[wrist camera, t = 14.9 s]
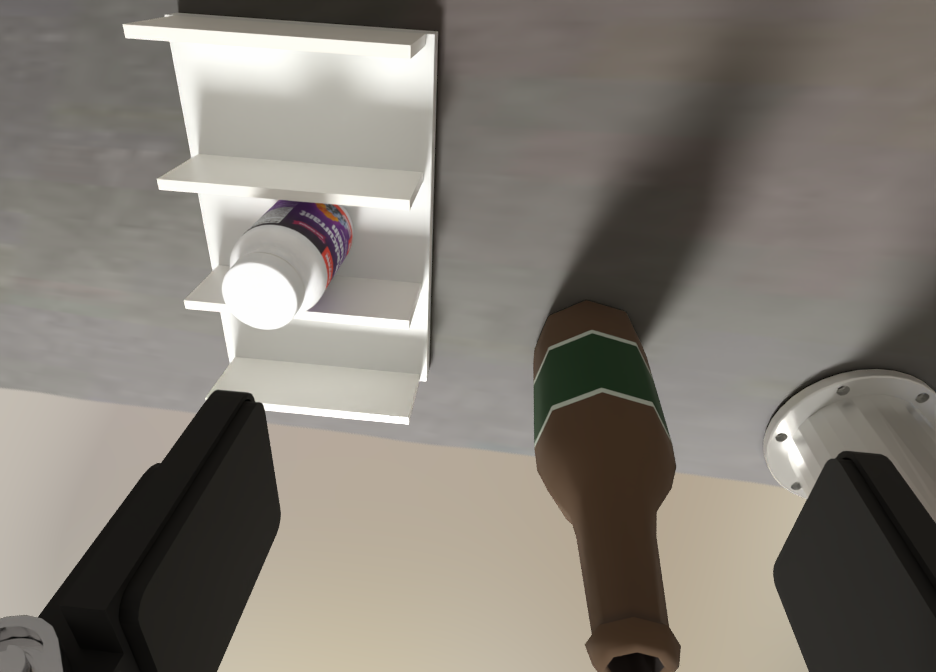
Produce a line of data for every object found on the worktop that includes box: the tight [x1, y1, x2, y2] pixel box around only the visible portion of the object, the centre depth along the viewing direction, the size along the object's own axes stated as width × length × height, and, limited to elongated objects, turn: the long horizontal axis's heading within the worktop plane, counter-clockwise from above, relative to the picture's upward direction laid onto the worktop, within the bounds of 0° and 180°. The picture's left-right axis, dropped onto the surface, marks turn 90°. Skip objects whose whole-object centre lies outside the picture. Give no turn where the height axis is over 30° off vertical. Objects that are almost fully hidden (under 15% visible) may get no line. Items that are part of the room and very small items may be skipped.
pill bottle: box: [222, 200, 354, 330], centre depth 35 cm, size 5×5×10 cm
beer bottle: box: [533, 300, 681, 672], centre depth 34 cm, size 8×8×24 cm
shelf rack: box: [123, 13, 438, 424], centre depth 38 cm, size 15×23×6 cm, turn 177°
